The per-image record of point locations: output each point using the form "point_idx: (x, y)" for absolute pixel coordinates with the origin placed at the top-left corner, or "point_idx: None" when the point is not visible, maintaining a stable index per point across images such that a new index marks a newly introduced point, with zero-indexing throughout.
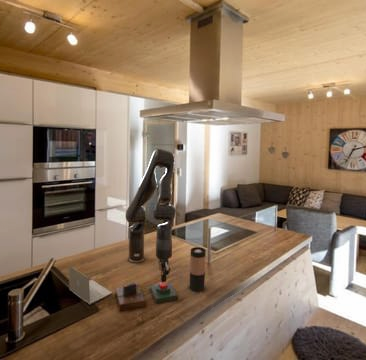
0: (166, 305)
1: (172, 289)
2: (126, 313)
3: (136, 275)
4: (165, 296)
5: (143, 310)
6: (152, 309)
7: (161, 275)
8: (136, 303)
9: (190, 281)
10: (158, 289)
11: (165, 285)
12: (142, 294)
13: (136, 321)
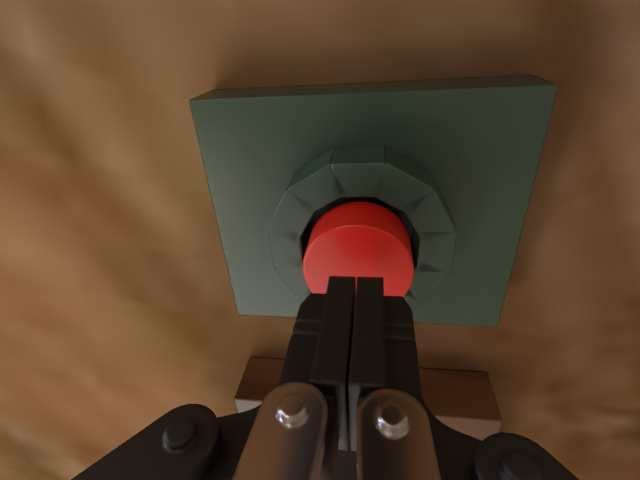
0: (572, 224)
1: (377, 108)
2: None
3: (22, 322)
4: (503, 239)
5: (530, 387)
6: (556, 339)
7: (349, 425)
8: None
9: None
10: None
11: (403, 257)
12: None
13: (626, 441)
